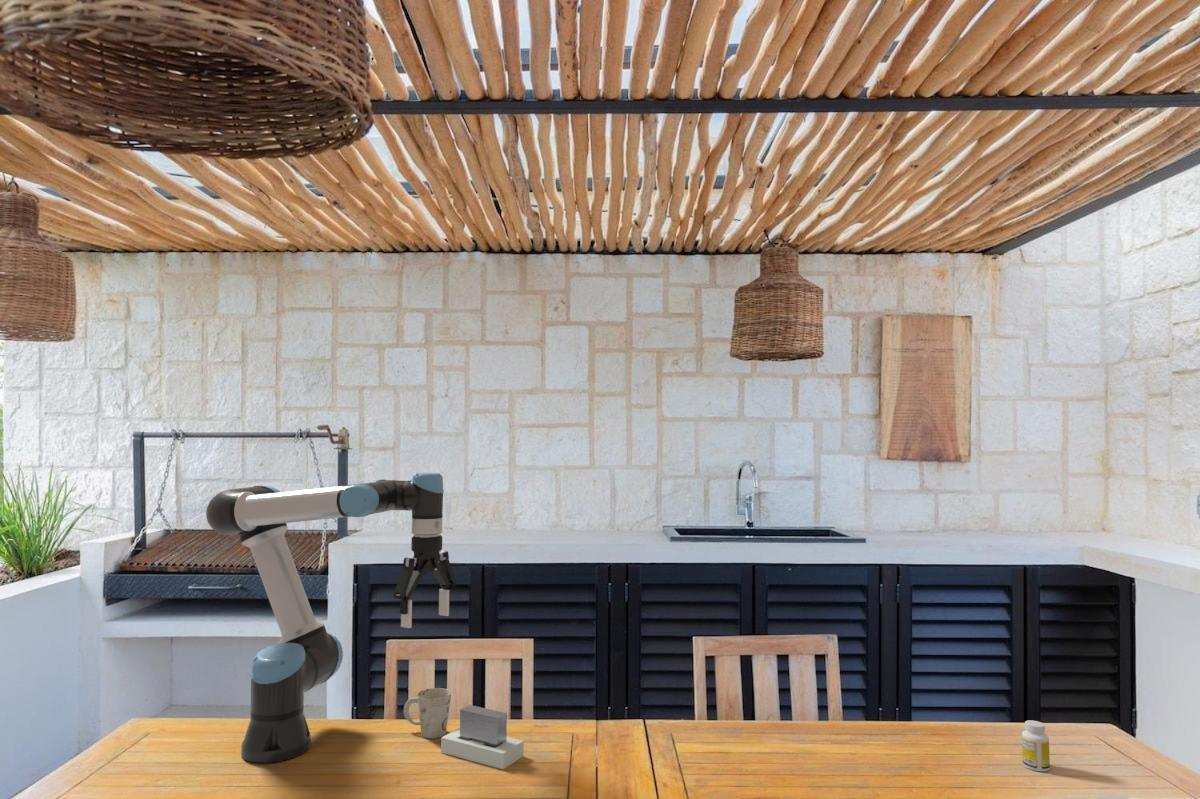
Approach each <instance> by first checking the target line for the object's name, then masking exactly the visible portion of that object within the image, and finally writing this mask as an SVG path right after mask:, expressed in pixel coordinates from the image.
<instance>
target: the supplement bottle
mask: <svg viewBox="0 0 1200 799" xmlns="http://www.w3.org/2000/svg"><path fill="white" fill-rule="evenodd" d="M1024 728H1025V730H1023V731H1022V732H1021V750H1022V753H1021V754H1022V755H1021V756H1022V765H1023V766H1024V767H1025V768H1026V769H1028V770H1031V771H1035V772H1048V771H1049V770H1050V769H1051V768H1050V767H1051V765H1050V764H1051V762H1050V760H1051V758H1050V739H1049V738H1050V737H1049V736H1048V735H1047V734H1046V733H1045V732H1046V725H1045V724H1044V722H1041V721H1038V720H1033V719H1031V720H1026V721H1024Z"/></svg>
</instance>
